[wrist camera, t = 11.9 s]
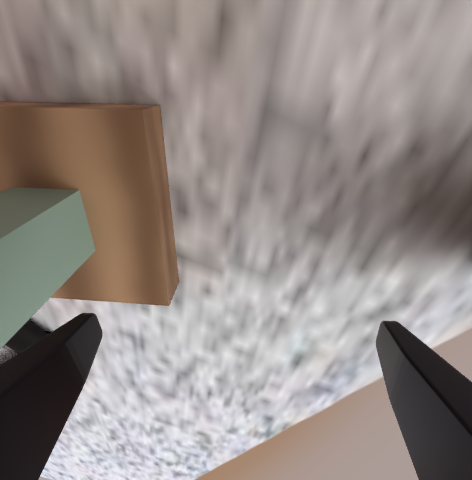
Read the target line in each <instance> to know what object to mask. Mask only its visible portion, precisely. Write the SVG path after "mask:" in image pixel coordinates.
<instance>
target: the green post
mask: <svg viewBox="0 0 472 480" xmlns="http://www.w3.org/2000/svg"><path fill="white" fill-rule="evenodd" d="M95 251H96V250H95V246H94V242H93V238H92V235H91V231H90V227H89V224H88V220H87V216H86V213H85V209H84V205H83V201H82V198H81V194H80V190H68V189H44V188H20V187H12V188H10V189H7V190H5V191H3V192H1V193H0V349H1V348H2V347H3V346H4V345H5V344H6V343H7V342H8V341H9V340H10V339H11V337H12V336H13V335H14V334H15V333H16V332H17V331H18V330H19V329H20V328H21V327H22V326H23V325H24V324H25V323H26V322H27V321H28V320H29V319H30V318H31V317H32V316H33V315H34V314H35V313H36V312H37V311H38V310H39V309H40V308H41V306H42V305H43V304H44V303H45V302H46V301H47V300H48V299H49V298H50V297H51V296H52V295H53V294H54V293H55V292H56V291H57V290H58V289H59V288H60V287H61V286H62V285H63V284H64V283H65V282H66V281H67V280H68V279H69V278H70V277H71V275H72V274H73V273H74V272H75V271H76V270H77V269H78V268H79V267H80V266H81V265H82V264H83V263H84V262H85V261H86V260H87V259H88V258H89V257H90V256H91V255H92V254H93V253H94V252H95Z"/></svg>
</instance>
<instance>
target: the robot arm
mask: <svg viewBox="0 0 472 480" xmlns="http://www.w3.org/2000/svg"><path fill="white" fill-rule="evenodd" d="M101 339H102V329H101V326H100V324H99V321H98V319H97V316H96V315H95V314H93V313H82V314H80V315H78V316H76V317H75V318H73V319H72V320H70V321H69V322H67V323H66V324H64V325H62V326H61V327H59V328H58V329H56V330H55V331H53V332H51V333H50V334H48V335H47V336H45V337H44V338H42V339H41V340H39V341H37V342H36V343H34V344H33V345H31V346H30V347H28V348H26V349H25V350H23V351H22V352H20V353H19V354H17V355H16V356H14V357H12V358H11V359H9V360H8V361H6V362H5V363H3V364H2V365H0V480H38V479H39V477H40V475H41V473H42V471H43V469H44V467H45V465H46V463H47V461H48V458H49V456H50V454H51V452H52V450H53V448H54V446H55V444H56V442H57V440H58V438H59V436H60V434H61V432H62V430H63V428H64V426H65V423H66V421H67V419H68V417H69V415H70V413H71V411H72V409H73V407H74V405H75V403H76V401H77V399H78V397H79V395H80V393H81V391H82V388H83V386H84V384H85V382H86V379H87V377H88V374H89V371H90V369H91V366H92V363H93V361H94V358H95V355H96V353H97V350H98V347H99V345H100V342H101ZM376 348H377V352H378V356H379V360H380V364H381V368H382V372H383V376H384V380H385V384H386V387H387V391H388V395H389V399H390V402H391V405H392V408H393V411H394V413H395V416H396V419H397V421H398V424H399V427H400V430H401V432H402V435H403V438H404V440H405V443H406V446H407V449H408V451H409V454H410V457H411V459H412V462H413V465H414V468H415V470H416V473H417V476H418V478H419V480H472V382H471V381H470V380H469V379H467V378H466V377H465V376H464V375H462V374H461V373H460V372H459V371H458V370H456V369H455V368H454V367H453V366H451V365H450V364H449V363H448V362H446V361H445V360H444V359H443V358H442V357H440V356H439V355H438V354H437V353H435V352H434V351H433V350H432V349H431V348H429V347H428V346H427V345H426V344H424V343H423V342H422V341H421V340H419V339H418V338H417V337H416V336H415V335H413V334H412V333H411V332H410V331H408V330H407V329H406V328H405V327H404V326H402V325H401V324H400V323H398V322H396V321H382V322H381V324H380V327H379V331H378V335H377V339H376Z"/></svg>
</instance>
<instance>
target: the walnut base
mask: <svg viewBox="0 0 472 480" xmlns="http://www.w3.org/2000/svg"><path fill="white" fill-rule="evenodd" d="M12 187H20V188H44V189H68V190H80V194H81V198H82V201H83V205H84V209H85V213H86V216H87V220H88V224H89V227H90V231H91V235H92V238H93V242H94V246H95V250H96V251H95V252H94V253H93V254H92V255H91V256H90V257H89V258H88V259H87V260H86V261H85V262H84V263H83V264H82V265H81V266H80V267H79V268H78V269H77V270H76V271H75V272H74V273H73V274H72V275H71V277H70V278H69V279H68V280H67V281H66V282H65V283H64V284H63V285H62V286H61V287H60V288H59V289H58V290H57V291H56V292H55V293H54V294H53V295H52V296H51V297H52V298H66V299H80V300H94V301H108V302H122V303H136V304H150V305H164V306H169V305H170V302H171V300H172V298H173V295H174V293H175V290H176V288H177V286H178V283H179V278H178V268H177V259H176V250H175V240H174V231H173V222H172V213H171V203H170V194H169V185H168V176H167V166H166V157H165V148H164V138H163V129H162V120H161V111H160V105H133V104H86V103H39V102H0V193H1V192H3V191H5V190H7V189H10V188H12Z"/></svg>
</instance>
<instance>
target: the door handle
mask: <svg viewBox="0 0 472 480" xmlns="http://www.w3.org/2000/svg"><path fill="white" fill-rule="evenodd" d="M47 335H48V334H47V333H46V332H45V331H43V330H42V329H40V328H39V327H38V326H36V325H35V324H34V323H32V322H31V321H29V320H28V321H27V322H26V323H25V324H24V325H23V326H22V327H21V328H20V329H19V330H18V331H17V332H16V333H15V334H14V335H13V336H12V337H11V339H10V340H9V341H8V342H7V343H6V344H5V345H4V346H3V347H2V348H6V349H9V350H11V351H14V352H16V353H17V354H19V353H20V352H22V351H23V350H25V349H26V348H28V347H30V346H31V345H33V344H34V343H36V342H37V341H39V340H41V339H42V338H44V337H45V336H47Z"/></svg>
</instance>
